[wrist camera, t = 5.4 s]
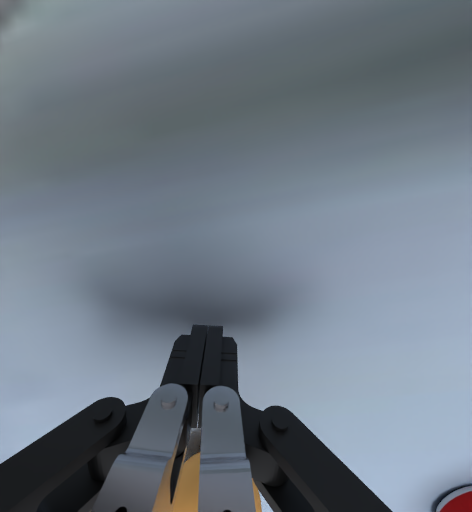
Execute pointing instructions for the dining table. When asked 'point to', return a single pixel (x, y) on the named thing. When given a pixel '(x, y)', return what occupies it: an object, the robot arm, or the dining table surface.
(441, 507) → the beverage can
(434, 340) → the dining table surface
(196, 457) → the ball
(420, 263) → the dining table surface
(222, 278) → the dining table surface
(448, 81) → the dining table surface
